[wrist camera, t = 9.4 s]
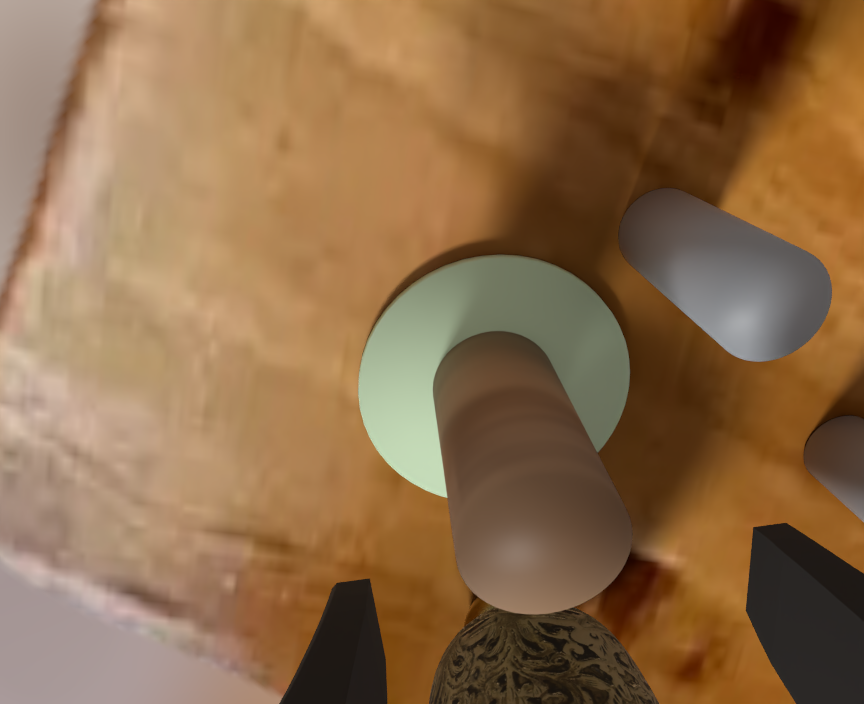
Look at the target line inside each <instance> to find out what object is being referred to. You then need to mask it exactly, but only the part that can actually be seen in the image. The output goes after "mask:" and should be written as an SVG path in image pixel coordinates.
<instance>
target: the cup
mask: <svg viewBox="0 0 864 704" xmlns="http://www.w3.org/2000/svg"><path fill="white" fill-rule="evenodd" d="M429 704H659V702H658V701H657V699H656V697H655V695H654V694H653V692H652V690H651V688H650V687H649V685H648V683H647V682H646V680H645V678H644V677H643V675H642V673H641V672H640V670H639V668H638V667H637V665H636V664H635V662H634V661H633V660H632V658H631V657H630V655H629V654H628V652H627V651H626V650H625V648H624V647H623V646H622V645H621V643H620V642H619V641H618V640H617V638H616V637H615V636H614V635H613V634H612V633H611V632H610V631H609V630H608V629H607V628H606V627H604V626H603V625H602V624H601V623H600V622H598V621H597V620H596V619H594V618H593V617H591V616H589V615H588V614H586V613H584V612H582V611H580V610H578V609H576V608H574V607H572V608H570V609H566V610H563V611H559V612H554V613H548V614H520V613H514V612H509V611H505V610H502V609H499V608H496V607H494V606H492V605H490V604H488V603H486V602H485V601H483V600H482V599H480V598H479V597H478V596H477V598H476V599H475V600H474V602H473V603H472V605H471V607H470V609H469V611H468V614H467V617H466V620H465V624H464V628H463V629H462V630H461V631H460V632H459V633H458V634H457V635H456V636H455V638H454V639H453V640H452V642H451V643H450V644H449V646H448V647H447V649H446V650H445V652H444V654H443V656H442V658H441V661H440V663H439V665H438V668H437V670H436V673H435V677H434V680H433V685H432V689H431V694H430V701H429Z"/></svg>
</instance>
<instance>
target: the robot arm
mask: <svg viewBox="0 0 864 704" xmlns="http://www.w3.org/2000/svg"><path fill="white" fill-rule="evenodd" d="M746 612H747V614H748V616H749V618H750V620H751V623H752V625H753V627H754V629H755V631H756V633H757V636H758V638H759V640H760V642H761V644H762V646H763V648H764V650H765V652H766V654H767V656H768V658H769V660H770V662H771V664H772V666H773V667H774V669H775V670H776V672H777V674H778V675H779V677H780V679H781V680H782V682H783V683H784V685H785V686H786V688H787V690H788V691H789V693H790V694H791V696H792V698H793V699H794V701H795V702H796V704H864V574H863V573H862V572H860V571H859V570H857V569H856V568H854V567H853V566H851V565H850V564H848V563H847V562H845V561H843V560H842V559H840V558H839V557H837V556H836V555H834V554H833V553H831V552H830V551H828V550H827V549H825V548H824V547H822V546H821V545H819V544H818V543H816V542H815V541H813V540H812V539H810V538H809V537H807V536H806V535H804V534H803V533H801V532H800V531H798V530H796V529H795V528H793V527H792V526H790V525H788V524H787V523H782V524H774V525H767V526H759V527H753V538H752V549H751V560H750V571H749V582H748V593H747V604H746ZM280 704H387V682H386V659H385V654H384V649H383V644H382V639H381V634H380V628H379V623H378V618H377V613H376V608H375V603H374V598H373V593H372V588H371V583H370V579H363V580H356V581H348V582H341V583H337V584H336V585H335V586H334V587H333V588H332V591H331V594H330V596H329V599H328V602H327V605H326V607H325V610H324V612H323V615H322V617H321V620H320V622H319V625H318V627H317V629H316V631H315V634H314V636H313V638H312V640H311V643H310V645H309V647H308V649H307V651H306V653H305V655H304V657H303V659H302V661H301V663H300V665H299V668H298V670H297V672H296V674H295V676H294V678H293V680H292V682H291V684H290V685H289V687H288V689H287V691H286V693H285V695H284V696H283V698H282V700H281V702H280Z"/></svg>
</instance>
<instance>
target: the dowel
mask: <svg viewBox="0 0 864 704" xmlns="http://www.w3.org/2000/svg"><path fill="white" fill-rule="evenodd" d="M433 399H434V406H435V413H436V420H437V427H438V434H439V442H440V449H441V456H442V463H443V470H444V477H445V484H446V491H447V498H448V506H449V513H450V520H451V527H452V534H453V541H454V548H455V555H456V561H457V566H458V569H459V572H460V574H461V577H462V578H463V580H464V582H465V583H466V585H467V586H468V587H469V588H470V590H471V591H472V592H473V593H474V594H476V595H477V596H478V597H479V598H480V599H482V600H483V601H485V602H486V603H488V604H490V605H492V606H494V607H496V608H499V609H502V610H505V611H509V612H514V613H520V614H548V613H554V612H559V611H563V610H566V609H570V608H572V607H575V606H577V605H580V604H582V603H584V602H586V601H588V600H590V599H591V598H593V597H594V596H596V595H597V594H599V593H600V592H601V591H603V590H604V589H605V588H606V587H607V586H608V585H609V584H610V583H611V582H612V581H613V580H614V579H615V578H616V577H617V575H618V574H619V573H620V571H621V570H622V568H623V566H624V565H625V563H626V561H627V558H628V556H629V553H630V550H631V545H632V536H633V533H632V524H631V520H630V516H629V514H628V512H627V510H626V507H625V506H624V504H623V502H622V500H621V498H620V496H619V494H618V492H617V490H616V488H615V486H614V484H613V482H612V480H611V478H610V476H609V474H608V472H607V471H606V469H605V467H604V465H603V463H602V461H601V459H600V457H599V455H598V453H597V451H596V449H595V447H594V445H593V443H592V441H591V439H590V438H589V436H588V434H587V432H586V430H585V428H584V426H583V424H582V422H581V420H580V418H579V416H578V414H577V412H576V410H575V408H574V406H573V404H572V403H571V401H570V399H569V397H568V395H567V393H566V391H565V389H564V387H563V385H562V383H561V381H560V379H559V377H558V375H557V373H556V371H555V369H554V368H553V366H552V364H551V362H550V360H549V358H548V356H547V355H546V353H545V352H544V351H543V350H542V349H541V348H540V347H539V346H538V345H537V344H536V343H535V342H533V341H531V340H530V339H528V338H526V337H524V336H522V335H519V334H516V333H512V332H506V331H490V332H484V333H480V334H477V335H474V336H471V337H469V338H467V339H465V340H463V341H462V342H460V343H458V344H457V345H456V346H455V347H453V348H452V349H451V350H450V351H449V352H448V353H447V354H446V355H445V357H444V358H443V359H442V361H441V363H440V364H439V366H438V368H437V371H436V373H435V377H434V381H433Z"/></svg>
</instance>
